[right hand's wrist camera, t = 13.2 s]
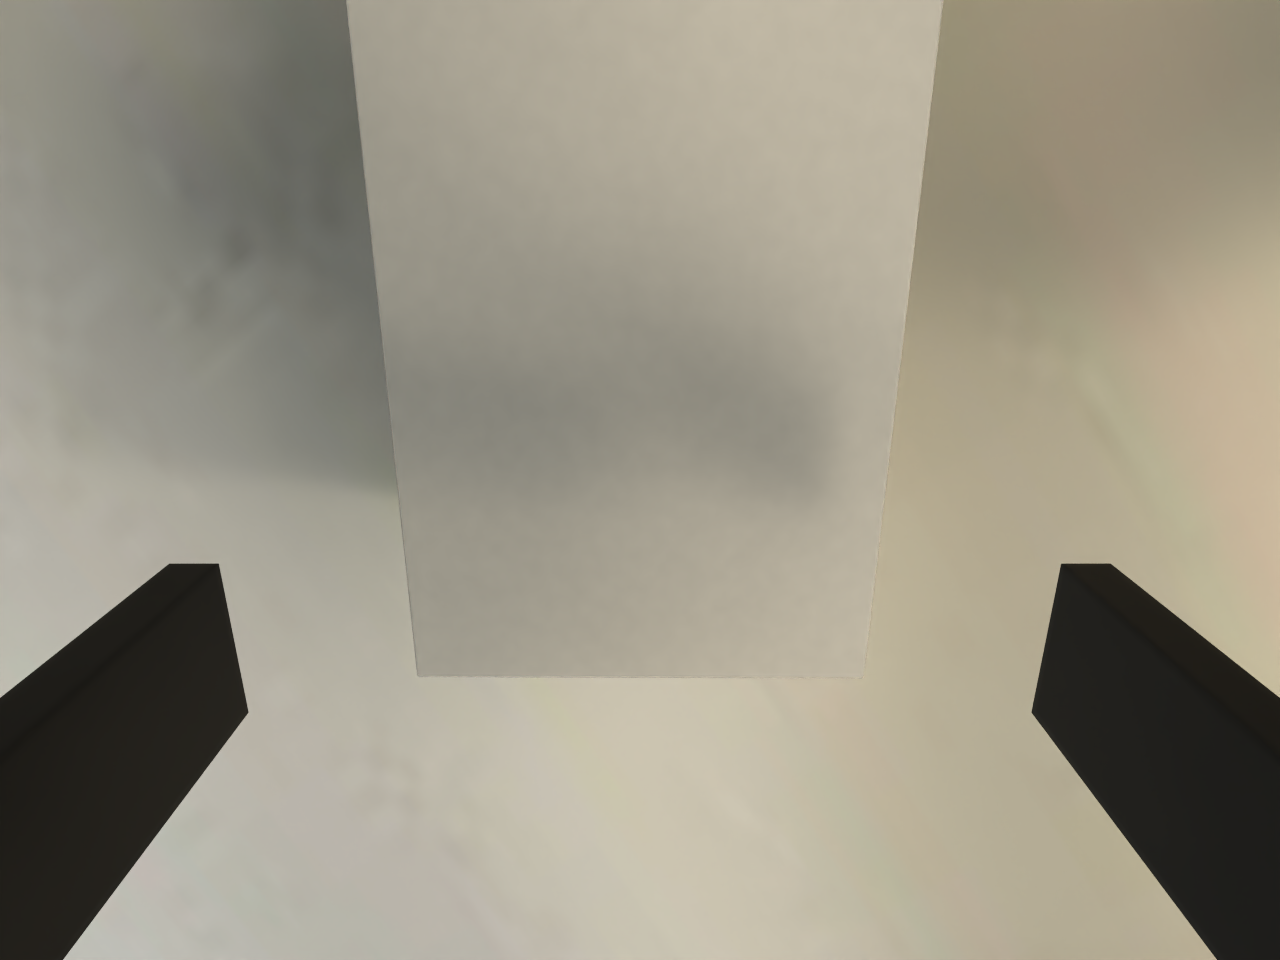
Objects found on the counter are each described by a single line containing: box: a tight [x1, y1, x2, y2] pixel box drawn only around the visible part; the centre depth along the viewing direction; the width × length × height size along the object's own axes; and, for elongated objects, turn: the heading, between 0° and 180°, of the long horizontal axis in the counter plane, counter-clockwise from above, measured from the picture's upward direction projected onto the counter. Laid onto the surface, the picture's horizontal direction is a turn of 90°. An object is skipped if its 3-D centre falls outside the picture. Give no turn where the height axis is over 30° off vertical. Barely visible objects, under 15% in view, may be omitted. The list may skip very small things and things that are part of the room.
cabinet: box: [346, 0, 944, 678], centre depth 20 cm, size 22×11×10 cm, turn 0°
